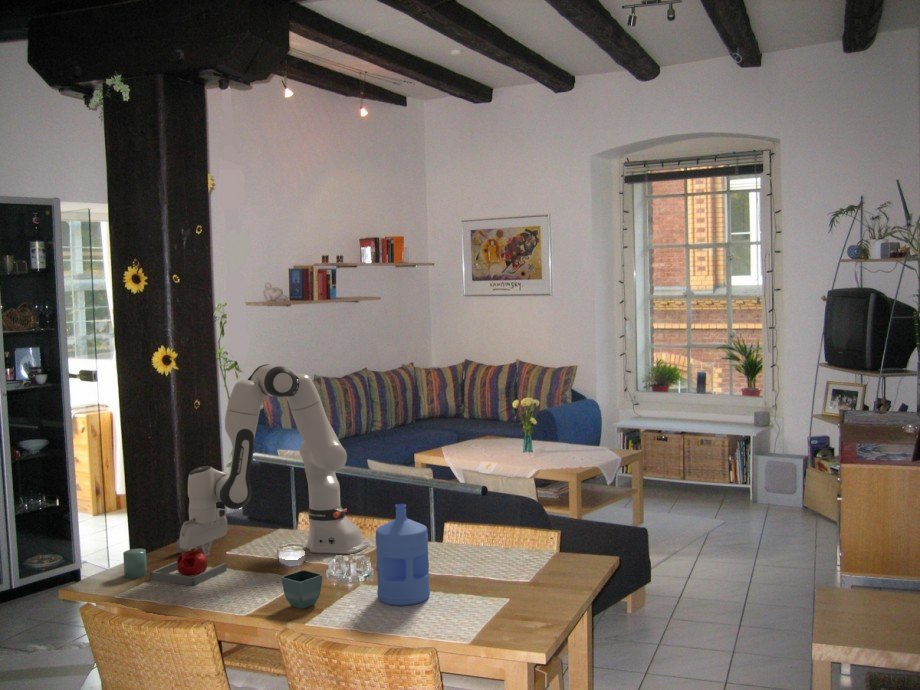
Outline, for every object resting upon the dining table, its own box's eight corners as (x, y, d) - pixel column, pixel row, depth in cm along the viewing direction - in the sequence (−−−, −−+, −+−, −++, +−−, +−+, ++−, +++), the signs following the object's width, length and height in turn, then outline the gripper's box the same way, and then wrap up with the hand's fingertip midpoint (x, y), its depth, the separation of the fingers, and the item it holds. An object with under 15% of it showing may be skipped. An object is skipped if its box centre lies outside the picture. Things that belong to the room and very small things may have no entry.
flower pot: (304, 598, 274) (303, 569, 273) (324, 604, 268) (323, 574, 267) (281, 606, 267) (280, 576, 266) (301, 613, 261) (300, 582, 261)
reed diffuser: (182, 557, 319) (179, 501, 318) (165, 555, 321) (162, 500, 320) (199, 548, 329) (196, 494, 328) (183, 547, 331) (180, 493, 330)
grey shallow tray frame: (226, 570, 302) (226, 563, 302) (194, 586, 288) (193, 578, 288) (184, 565, 310) (183, 558, 310) (150, 579, 295) (149, 572, 295)
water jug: (371, 593, 276) (368, 502, 274) (420, 585, 282) (417, 496, 280) (385, 610, 262) (382, 514, 260) (437, 601, 267) (434, 508, 265)
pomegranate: (195, 566, 308) (193, 539, 307) (214, 571, 302) (213, 544, 301) (170, 574, 300) (168, 547, 299) (189, 579, 294) (188, 551, 293)
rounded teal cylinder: (151, 573, 302) (150, 549, 302) (136, 579, 296) (134, 555, 295) (135, 571, 305) (134, 547, 304) (119, 577, 299) (118, 553, 298)
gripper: (189, 523, 294) (191, 565, 295) (229, 508, 313) (231, 548, 314) (173, 522, 297) (176, 563, 298) (215, 507, 316) (217, 546, 316)
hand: (204, 555), depth 306 cm, fingers closed
